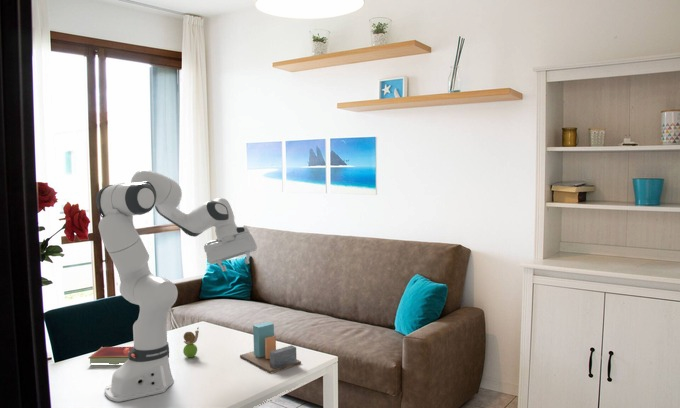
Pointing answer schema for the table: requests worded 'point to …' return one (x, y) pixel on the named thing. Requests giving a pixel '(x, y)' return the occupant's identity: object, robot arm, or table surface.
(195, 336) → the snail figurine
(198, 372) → the table surface
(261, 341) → the teal upright block
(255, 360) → the brown wooden base board
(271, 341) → the orange flat block
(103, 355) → the hardcover book
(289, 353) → the grey lying block
